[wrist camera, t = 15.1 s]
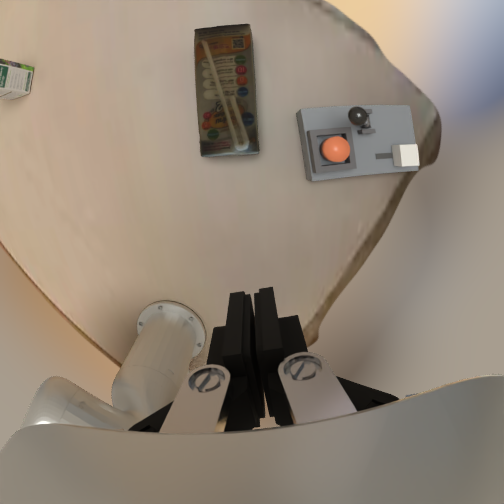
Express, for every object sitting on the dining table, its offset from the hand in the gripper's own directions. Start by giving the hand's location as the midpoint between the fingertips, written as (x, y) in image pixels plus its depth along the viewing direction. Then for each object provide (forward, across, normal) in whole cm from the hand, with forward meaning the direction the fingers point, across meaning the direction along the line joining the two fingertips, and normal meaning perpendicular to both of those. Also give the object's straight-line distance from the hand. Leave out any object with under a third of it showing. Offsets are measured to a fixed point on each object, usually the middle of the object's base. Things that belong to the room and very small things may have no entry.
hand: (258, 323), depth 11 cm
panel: (+33, -17, -7) cm, 38 cm away
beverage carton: (+34, +1, -16) cm, 37 cm away
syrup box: (+33, +39, -33) cm, 61 cm away
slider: (+29, -22, -4) cm, 37 cm away
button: (+28, -11, -6) cm, 31 cm away
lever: (+28, -17, -10) cm, 34 cm away
